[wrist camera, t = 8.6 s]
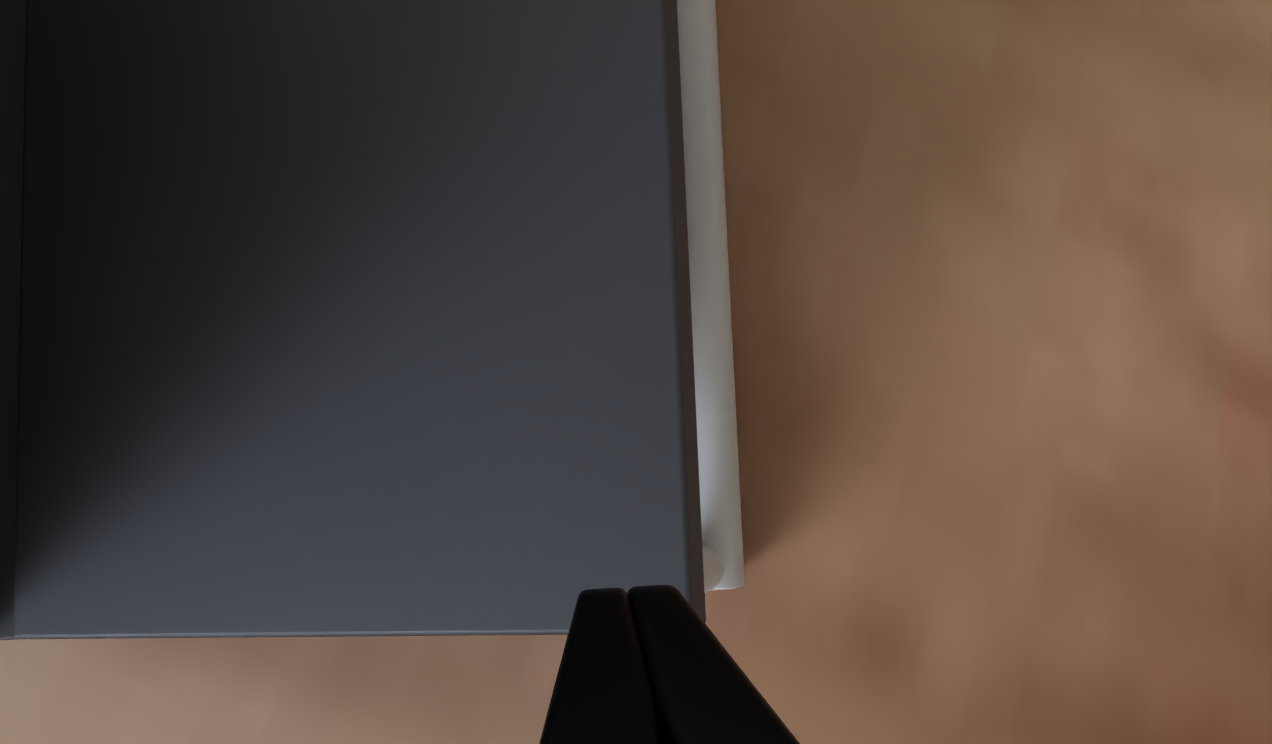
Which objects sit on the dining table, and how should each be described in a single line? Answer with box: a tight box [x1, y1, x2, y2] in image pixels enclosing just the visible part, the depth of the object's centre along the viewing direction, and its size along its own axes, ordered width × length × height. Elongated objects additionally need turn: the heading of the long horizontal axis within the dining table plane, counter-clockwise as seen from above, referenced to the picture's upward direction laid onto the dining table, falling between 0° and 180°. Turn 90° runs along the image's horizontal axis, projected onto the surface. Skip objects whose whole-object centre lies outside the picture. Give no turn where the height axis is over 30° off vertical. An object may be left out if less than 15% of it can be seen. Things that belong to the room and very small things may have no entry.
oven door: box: [13, 0, 745, 639], centre depth 21 cm, size 7×15×11 cm
